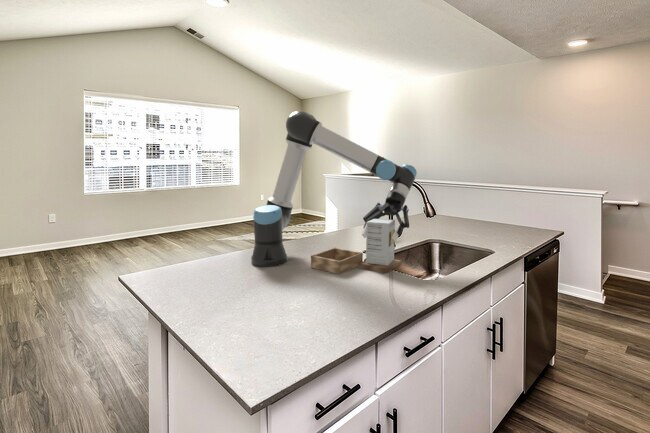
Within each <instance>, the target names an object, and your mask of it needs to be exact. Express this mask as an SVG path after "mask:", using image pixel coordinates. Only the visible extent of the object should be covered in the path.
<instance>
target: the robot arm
mask: <svg viewBox="0 0 650 433" xmlns="http://www.w3.org/2000/svg"><path fill="white" fill-rule="evenodd" d="M285 128H286V132H287V134H286V138H285V142H286V143H287V146H286V150H285V154H284V157H283V160H282V163H281V166H280V170H279V173H278V176H277V179H276V183H275V187H274V190H273V194H272V196H270V197H269V198H267V202H266V205H265V204H264V205H262V206H258V207H256V208H255V209H254V210H253V215H252V218H253V228H254V229H253V230H254V231H253V233H254V234H253V235H254V247H253V250H252V254H251V257H250V258H251V264H252V265H253V266H257V267H276V266H281V265H284V264H286V263H287V262H288V254H287V253H286V249H285V246H284V244H283V243H284V241H283V240H284V239H283V230H284V229H285V228H286V227H287V226H288V225H289V224H290V222H291V218H292V211H293V207H294V204H292V200H293V196H294V193H295V190H296V187H297V183H298V180H299V177H300V173H301V170H302V167H303V163H304V160H305V157H306V154H307V151H308V150H310V149H312V145H316V146H318V147H320V148H322V149H323V150H325V151H328V152H330V153H331V154H334V155H336V156H337V157H340V158H341V159H343V160H345V161H347V162H349V163H351V164H353V165H355V166H357V167H359V168H361V169H363V170H364V171H367V172H368V173H370V174H372V175H374V176H375V177H377V178H379V179H381V180H383V181H389V182H391V183H392V186H391V187H390V189H389V192H388V194H387V196H386V198H385V201H384V203H382V204H381V203H380V202H377V203H376V205H375V206H374V207H373V208H372V209H371V210H369V212H368V213H366V214H365V215H364V216H363V217H362V219H363V221H364V225H363V230H362V232H361V236H362V237H363V238H365V239H366V226H367V222H368V221H370V220H372V219H381V218H382V217H385V216H391V217H394V216H395V217H396V219H397V222H398V224H397V225H396V226H395V227H396V228H395V232H394V234H393V236H392V240H393V242H394V244H395V243H397V240H398V238H399V236H401V235H402V233H403V231H404V229H405V228H407V229H408V228H410V220H409V214H408V213H409V207H408V204H407V205H406V204H405V202H406V199H407V198H408V195H409V192H410V190H411V188H412V187H413V185H414V182H415V180H416V177H417V174H418V172H417V169H416V167H414V166H413V165H411V164H407V163H406V164H402V165H401V166H400V165H397V164H396V163H394V162H393V161H392V160H389V159H387V158H385V157H383V156H381V155H379V154H377V153H375V152H373V151H372V150H369V149H367V148H365V147H363V146H362V145H360V144H358V143H355V142H353V141H352V140H350V139H348V138H346V137H344V136H342V135H340V134H338V133H336V132H335V131H332V130H330V129H328V128H326V126H323V124H322V122H321V121H319V120H317V119H316V118H315V117H314V116H313V114H310V113H309V112H306V111H305V110H296V111H293V112H292V113H290V114H289V116H288V117H287V118H286V122H285ZM404 204H405V205H404ZM401 211H402V213H403V220H402V219H401V216H400V214H399V213H400V212H401ZM403 221H404V222H403Z"/></svg>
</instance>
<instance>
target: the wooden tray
mask: <svg viewBox="0 0 650 433" xmlns="http://www.w3.org/2000/svg"><path fill="white" fill-rule="evenodd" d="M363 255H364V254H363V252H361V251H354V250H349V249H345V248H340V247H333V248H331V249H330V248H329V249H327V250H324V251H321V252H318V253H315V254H312V255H310V268H313V269H317V270H320V271H324V272H329V273H332V274H338V275H342V274H344V273H347V272H349V271H351V270H353V269H356V268H359V263H361V262H363V261H364V260H363V258H364V256H363Z"/></svg>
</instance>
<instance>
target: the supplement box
mask: <svg viewBox="0 0 650 433" xmlns="http://www.w3.org/2000/svg"><path fill="white" fill-rule="evenodd" d="M395 222H396V220H395V219H388V218H385V219H384V218H379V219H372V220H370V221H368V222H367V226H366V238H365V240H366V241H365V243H366V244H365V246H366V247H365V249H366V250H365V251H366V252H365V253H366V254H365V256H366V257H365V258H366V259H365V260H366V263H371V264H379V265H386V266H388V265H389V264H390V263H391V262H392V261H393V260H394V259H395V243H394V242H393V240H392V236H393V234H394V232H395V230H396V228H395V227H396V223H395Z"/></svg>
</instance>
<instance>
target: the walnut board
mask: <svg viewBox="0 0 650 433" xmlns="http://www.w3.org/2000/svg"><path fill="white" fill-rule="evenodd" d="M402 262H403V261H402V259H401V260H399V259H395V258H394V260H393V261H392V262H391V263H390V264H389V265H388V266H386V265H379V264H371V263H366V259H365V260H363V262H361V263H359V266H358V268H359V269H362V270H368V271H372V272H378V273H381V274H388V273H390V272H392V271H394V270H396V269H397V268H399V267H401V266H403V265H402Z"/></svg>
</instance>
